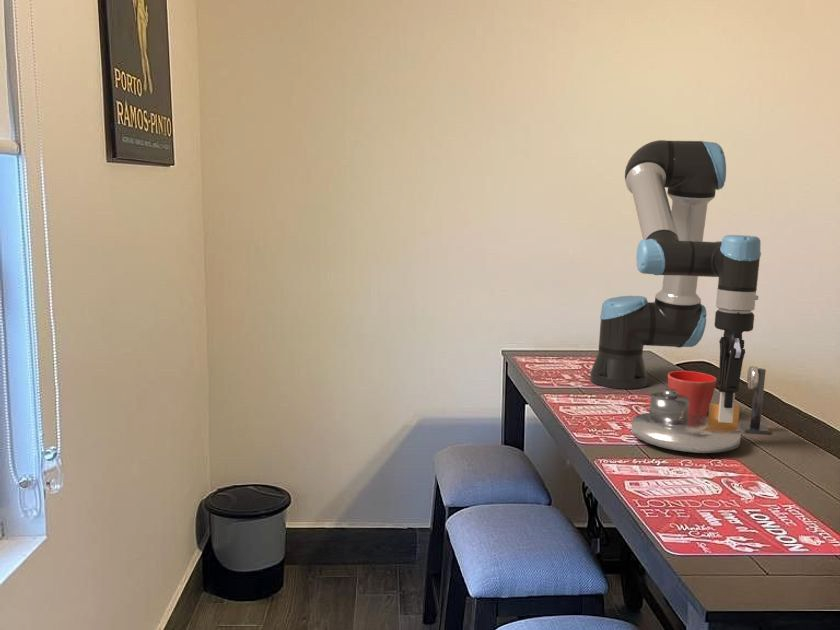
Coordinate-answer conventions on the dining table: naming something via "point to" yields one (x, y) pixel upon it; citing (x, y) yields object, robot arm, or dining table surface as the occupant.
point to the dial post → (756, 401)
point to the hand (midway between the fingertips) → (725, 421)
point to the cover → (669, 407)
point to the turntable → (691, 432)
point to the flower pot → (694, 389)
